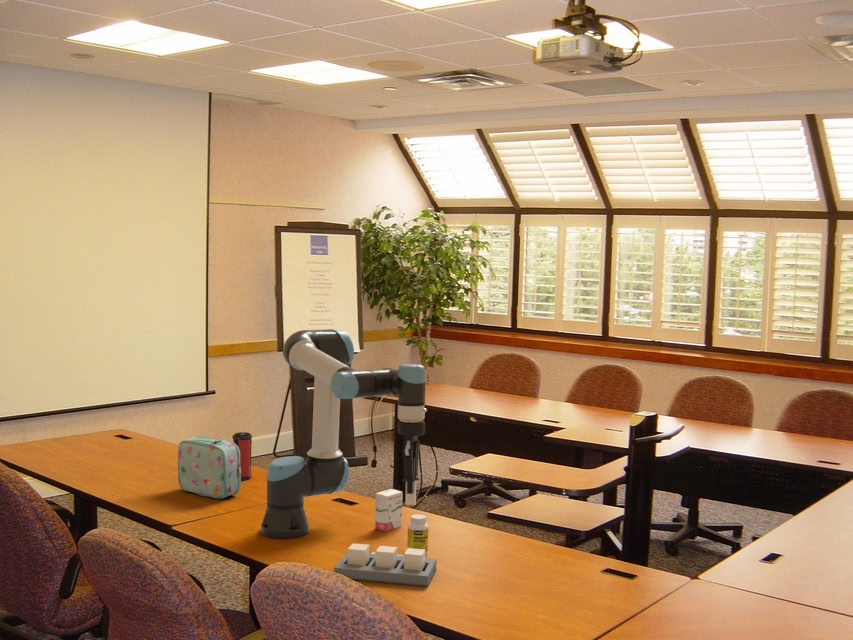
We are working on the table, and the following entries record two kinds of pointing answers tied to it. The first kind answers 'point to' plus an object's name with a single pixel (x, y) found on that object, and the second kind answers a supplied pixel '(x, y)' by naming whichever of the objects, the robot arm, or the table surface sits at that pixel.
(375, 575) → the board
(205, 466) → the lunch box
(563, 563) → the table surface
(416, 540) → the pill bottle
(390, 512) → the ink box
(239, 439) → the red travel mug
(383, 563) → the button middle
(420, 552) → the button right
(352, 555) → the button left
